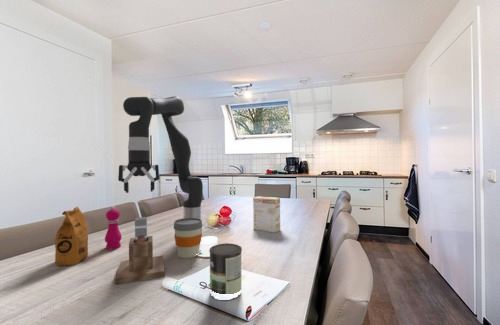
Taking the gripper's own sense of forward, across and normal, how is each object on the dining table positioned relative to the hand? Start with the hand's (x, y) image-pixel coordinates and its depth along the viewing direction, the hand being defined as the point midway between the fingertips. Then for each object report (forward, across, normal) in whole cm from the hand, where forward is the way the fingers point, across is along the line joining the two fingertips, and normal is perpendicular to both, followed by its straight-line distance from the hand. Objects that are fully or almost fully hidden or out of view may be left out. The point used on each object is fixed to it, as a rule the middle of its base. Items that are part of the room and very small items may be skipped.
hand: (139, 192), depth 98 cm
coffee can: (+30, -27, +27) cm, 49 cm away
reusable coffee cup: (+30, -19, -11) cm, 38 cm away
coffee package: (+31, +28, -21) cm, 47 cm away
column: (+28, 0, 0) cm, 28 cm away
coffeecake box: (+30, -68, -35) cm, 82 cm away
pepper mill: (+30, +14, -34) cm, 47 cm away
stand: (+30, 0, 0) cm, 30 cm away
